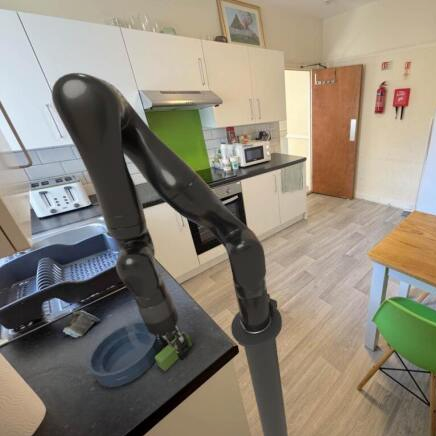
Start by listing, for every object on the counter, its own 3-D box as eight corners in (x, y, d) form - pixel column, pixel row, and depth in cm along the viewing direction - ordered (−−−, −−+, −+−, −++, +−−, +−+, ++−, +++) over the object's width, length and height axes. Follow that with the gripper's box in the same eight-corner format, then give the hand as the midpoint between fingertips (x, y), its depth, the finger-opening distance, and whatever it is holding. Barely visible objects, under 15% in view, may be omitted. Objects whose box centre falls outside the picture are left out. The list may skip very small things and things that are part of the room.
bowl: (143, 325, 79) (137, 314, 76) (173, 347, 71) (168, 335, 69) (86, 369, 66) (77, 356, 64) (115, 401, 59) (106, 388, 56)
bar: (186, 340, 73) (182, 331, 71) (192, 344, 72) (189, 335, 70) (158, 366, 66) (154, 357, 64) (165, 371, 65) (160, 362, 63)
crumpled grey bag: (54, 333, 79) (50, 326, 71) (73, 312, 83) (71, 304, 75) (84, 344, 81) (83, 340, 73) (100, 324, 86) (101, 317, 78)
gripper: (188, 310, 61) (202, 352, 68) (156, 291, 68) (172, 331, 75) (161, 333, 55) (180, 376, 62) (129, 310, 62) (149, 350, 69)
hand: (175, 351), depth 69 cm, fingers open, 6 cm apart
